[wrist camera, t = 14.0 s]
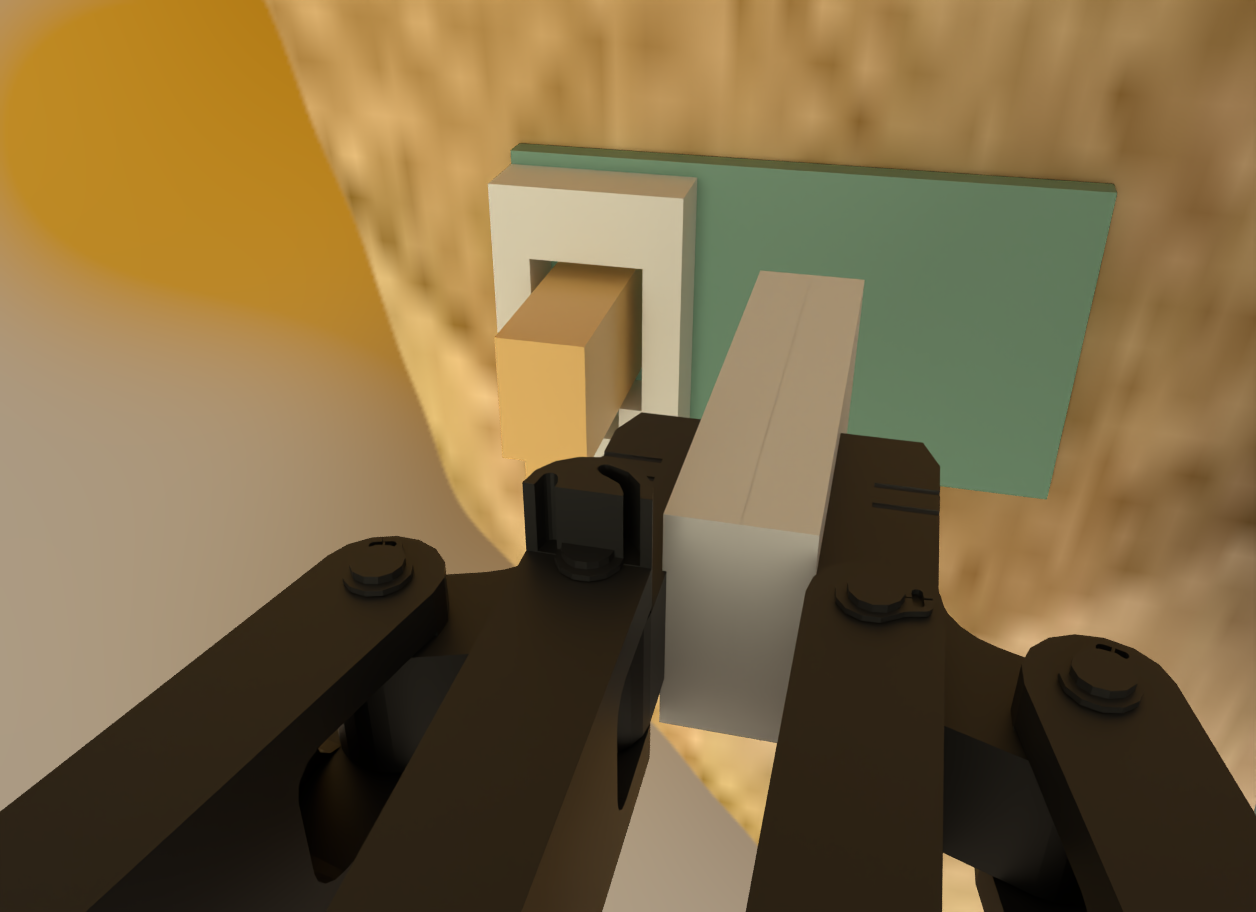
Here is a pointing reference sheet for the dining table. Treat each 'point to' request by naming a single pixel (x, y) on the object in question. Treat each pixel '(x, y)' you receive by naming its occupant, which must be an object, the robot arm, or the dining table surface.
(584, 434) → the plug
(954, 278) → the board
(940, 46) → the dining table surface
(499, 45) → the dining table surface
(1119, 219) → the dining table surface
